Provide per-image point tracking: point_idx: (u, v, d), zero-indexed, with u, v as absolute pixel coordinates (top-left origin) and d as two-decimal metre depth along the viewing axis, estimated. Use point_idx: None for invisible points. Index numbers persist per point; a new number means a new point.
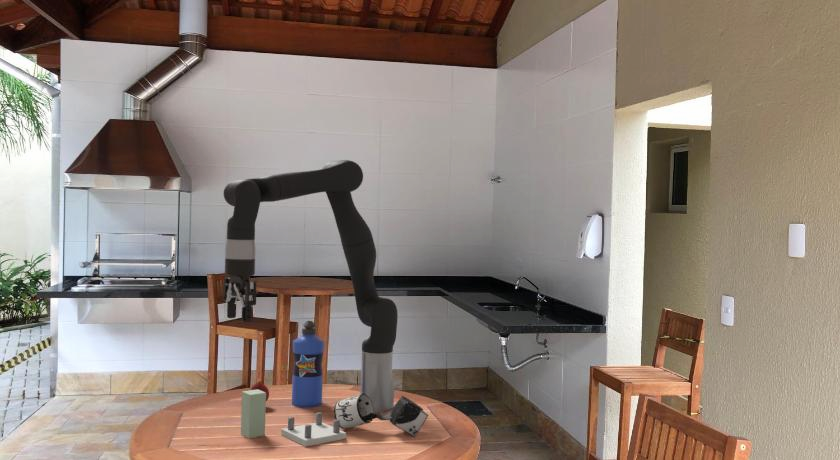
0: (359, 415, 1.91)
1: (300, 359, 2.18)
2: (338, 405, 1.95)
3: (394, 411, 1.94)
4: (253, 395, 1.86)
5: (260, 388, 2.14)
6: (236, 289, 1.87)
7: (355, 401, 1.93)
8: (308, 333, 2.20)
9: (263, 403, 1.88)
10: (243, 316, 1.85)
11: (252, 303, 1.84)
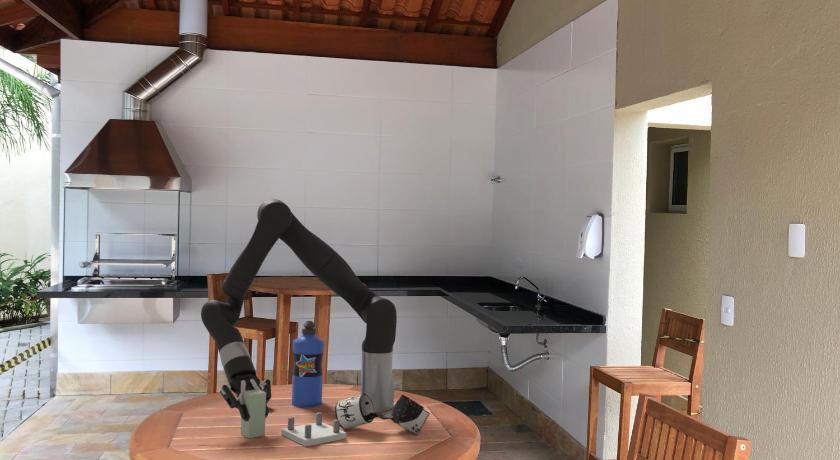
0: (362, 415, 1.91)
1: (300, 359, 2.18)
2: (339, 405, 1.95)
3: (395, 410, 1.95)
4: (253, 395, 1.86)
5: (260, 388, 2.14)
6: None
7: (357, 401, 1.93)
8: (308, 333, 2.20)
9: (263, 403, 1.88)
10: None
11: (232, 404, 1.86)
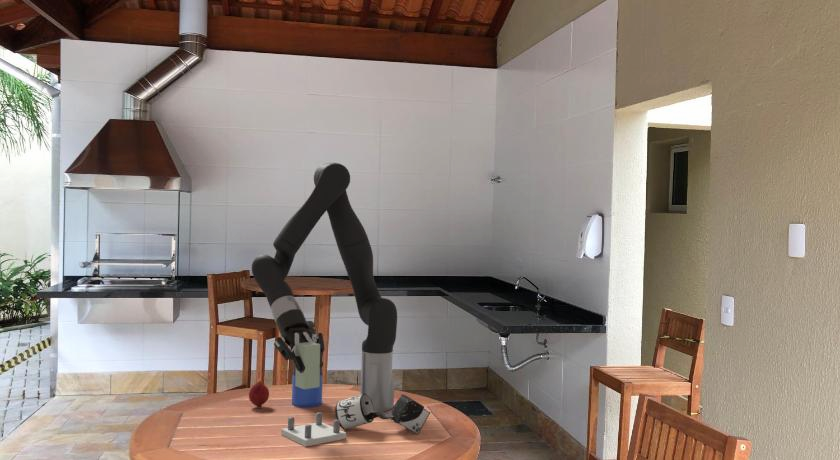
0: (363, 415, 1.91)
1: None
2: (339, 406, 1.94)
3: (396, 410, 1.95)
4: (308, 346, 1.86)
5: (260, 388, 2.14)
6: None
7: (357, 401, 1.93)
8: None
9: (317, 355, 1.88)
10: None
11: (287, 356, 1.86)
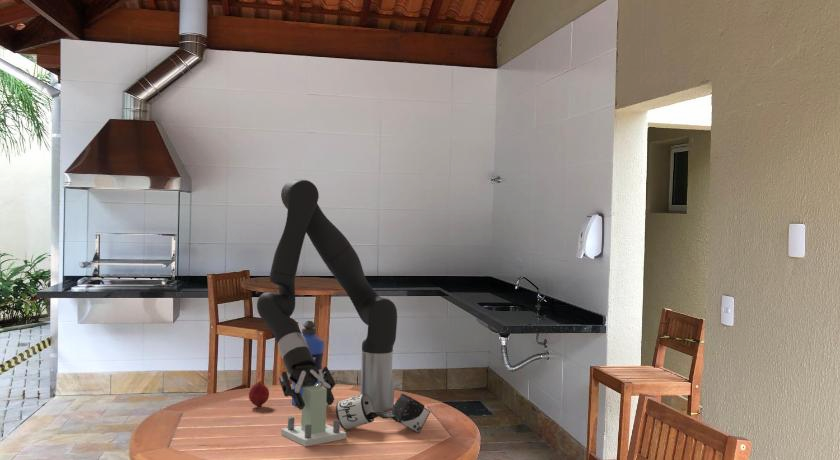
0: (364, 415, 1.92)
1: None
2: (340, 406, 1.94)
3: (396, 409, 1.96)
4: (314, 391, 1.86)
5: (260, 388, 2.14)
6: None
7: (358, 401, 1.93)
8: (308, 333, 2.20)
9: (324, 399, 1.88)
10: None
11: (286, 392, 1.86)
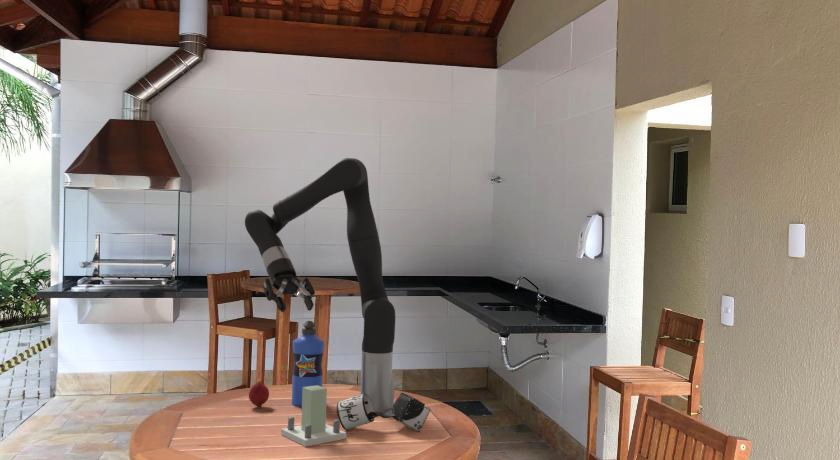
0: (366, 414, 1.92)
1: (300, 359, 2.18)
2: (341, 406, 1.94)
3: (397, 408, 1.97)
4: (314, 391, 1.86)
5: (260, 388, 2.14)
6: None
7: (360, 401, 1.93)
8: (308, 333, 2.20)
9: (324, 399, 1.88)
10: None
11: (269, 296, 2.02)
